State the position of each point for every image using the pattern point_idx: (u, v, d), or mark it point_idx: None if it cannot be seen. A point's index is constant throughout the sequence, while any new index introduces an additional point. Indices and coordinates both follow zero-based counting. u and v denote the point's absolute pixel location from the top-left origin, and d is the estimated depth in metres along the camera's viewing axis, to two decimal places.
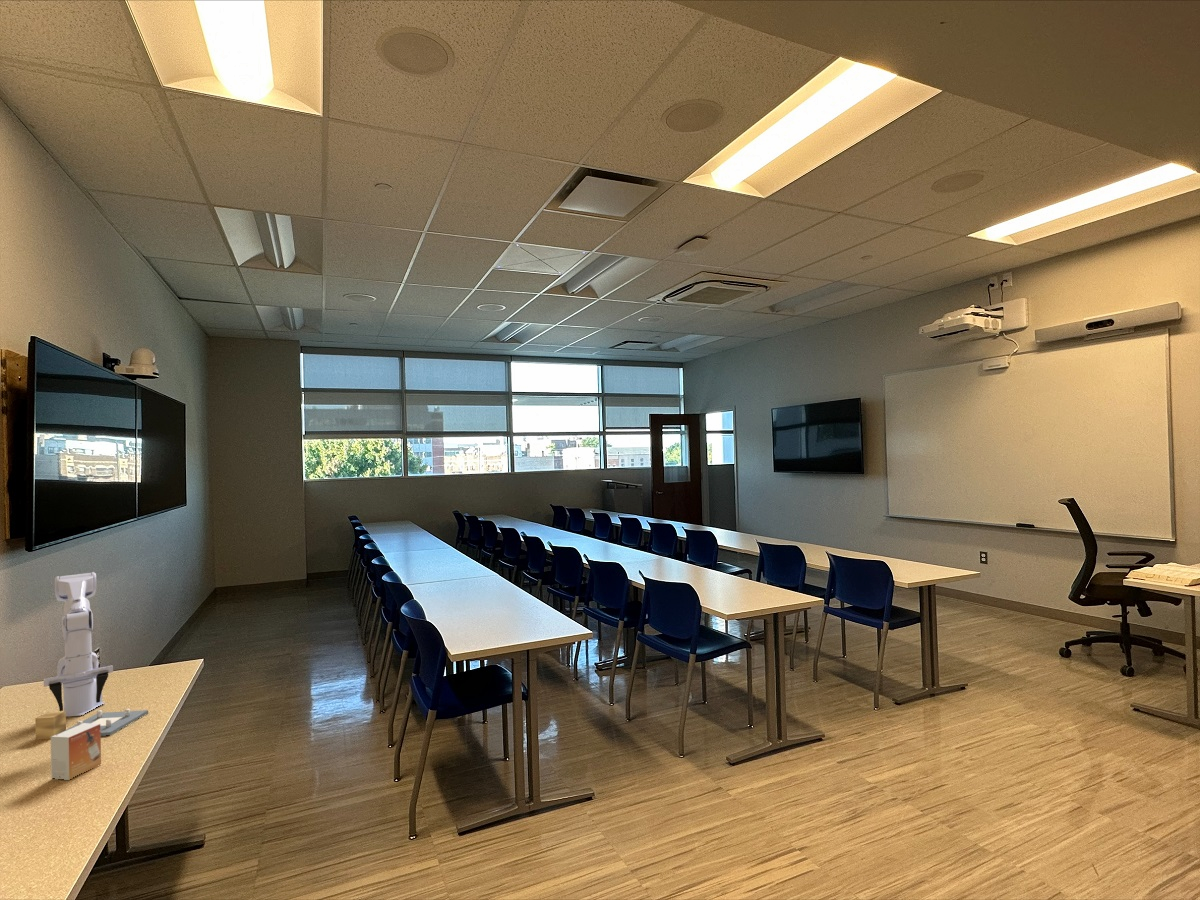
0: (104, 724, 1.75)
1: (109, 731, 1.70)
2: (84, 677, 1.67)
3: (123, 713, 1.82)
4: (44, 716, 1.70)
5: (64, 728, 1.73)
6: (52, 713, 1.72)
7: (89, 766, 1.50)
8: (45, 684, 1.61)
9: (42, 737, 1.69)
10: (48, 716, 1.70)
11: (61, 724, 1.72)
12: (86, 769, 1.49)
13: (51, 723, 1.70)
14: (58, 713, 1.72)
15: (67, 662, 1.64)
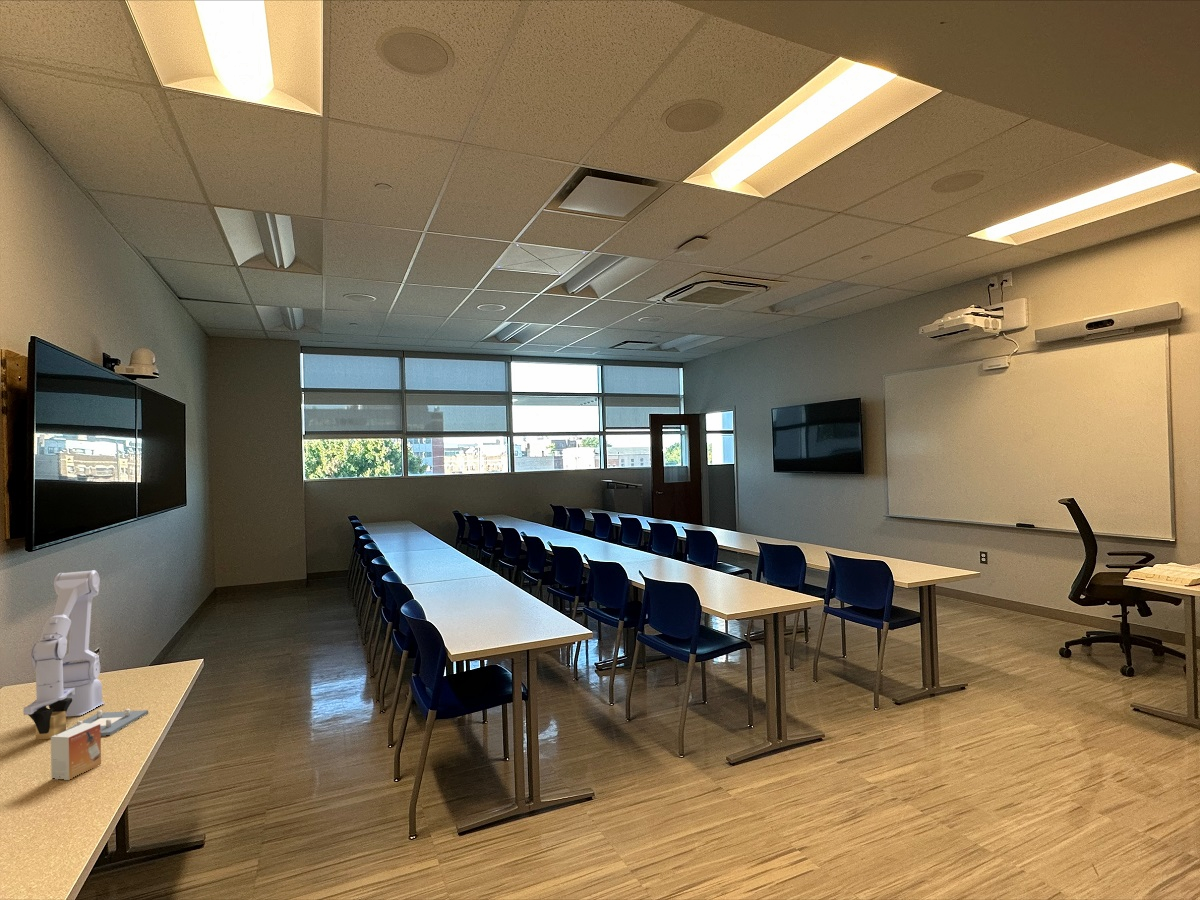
0: (104, 724, 1.75)
1: (109, 731, 1.70)
2: (54, 701, 1.73)
3: (123, 713, 1.82)
4: None
5: (64, 728, 1.73)
6: (52, 713, 1.72)
7: (89, 766, 1.50)
8: (32, 712, 1.65)
9: (42, 737, 1.69)
10: None
11: (61, 724, 1.72)
12: (86, 769, 1.49)
13: (51, 723, 1.70)
14: (58, 713, 1.72)
15: (48, 688, 1.69)
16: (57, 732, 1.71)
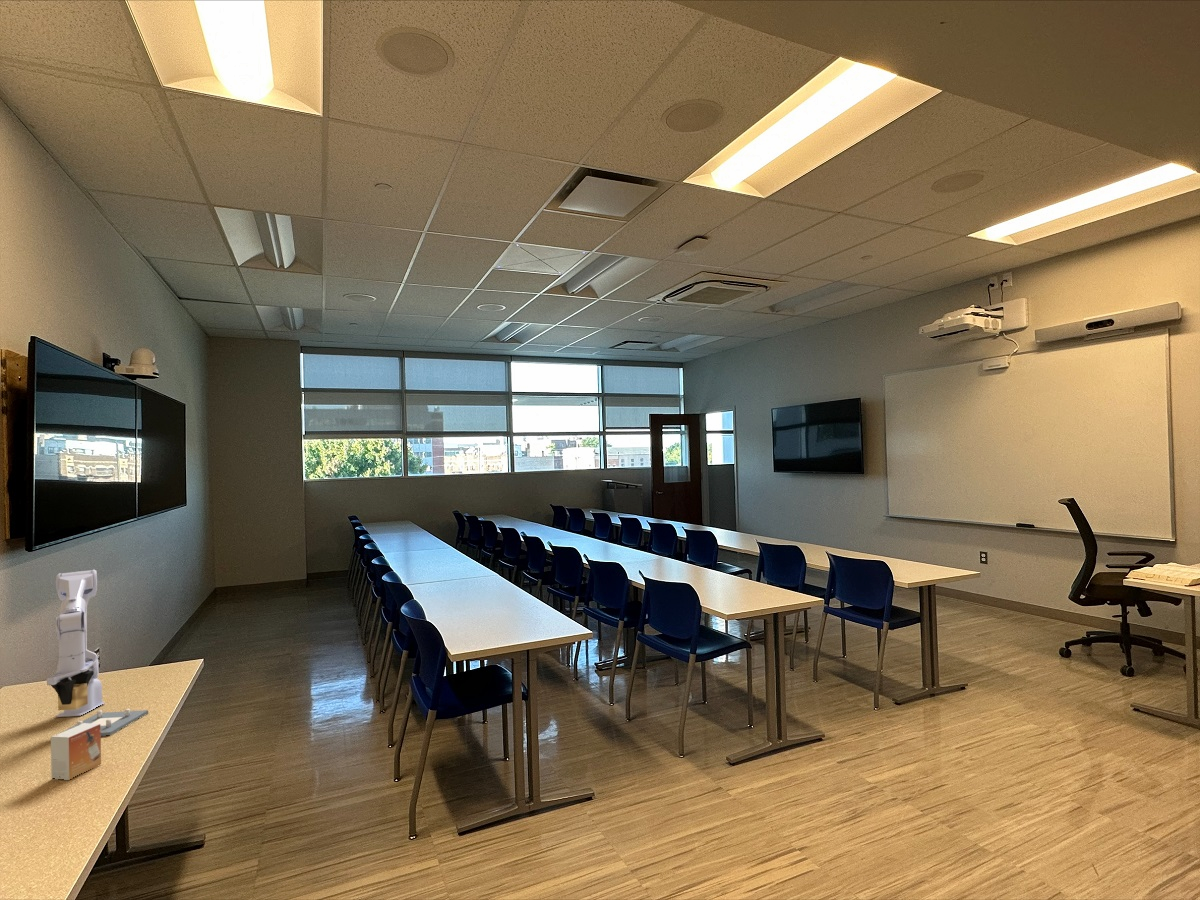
0: (104, 724, 1.75)
1: (109, 731, 1.70)
2: (76, 673, 1.75)
3: (123, 713, 1.82)
4: None
5: (86, 700, 1.75)
6: (74, 685, 1.75)
7: (89, 766, 1.50)
8: (55, 682, 1.67)
9: (64, 708, 1.72)
10: None
11: (83, 695, 1.75)
12: (86, 769, 1.49)
13: (73, 695, 1.72)
14: (80, 685, 1.75)
15: (70, 660, 1.72)
16: (79, 703, 1.73)
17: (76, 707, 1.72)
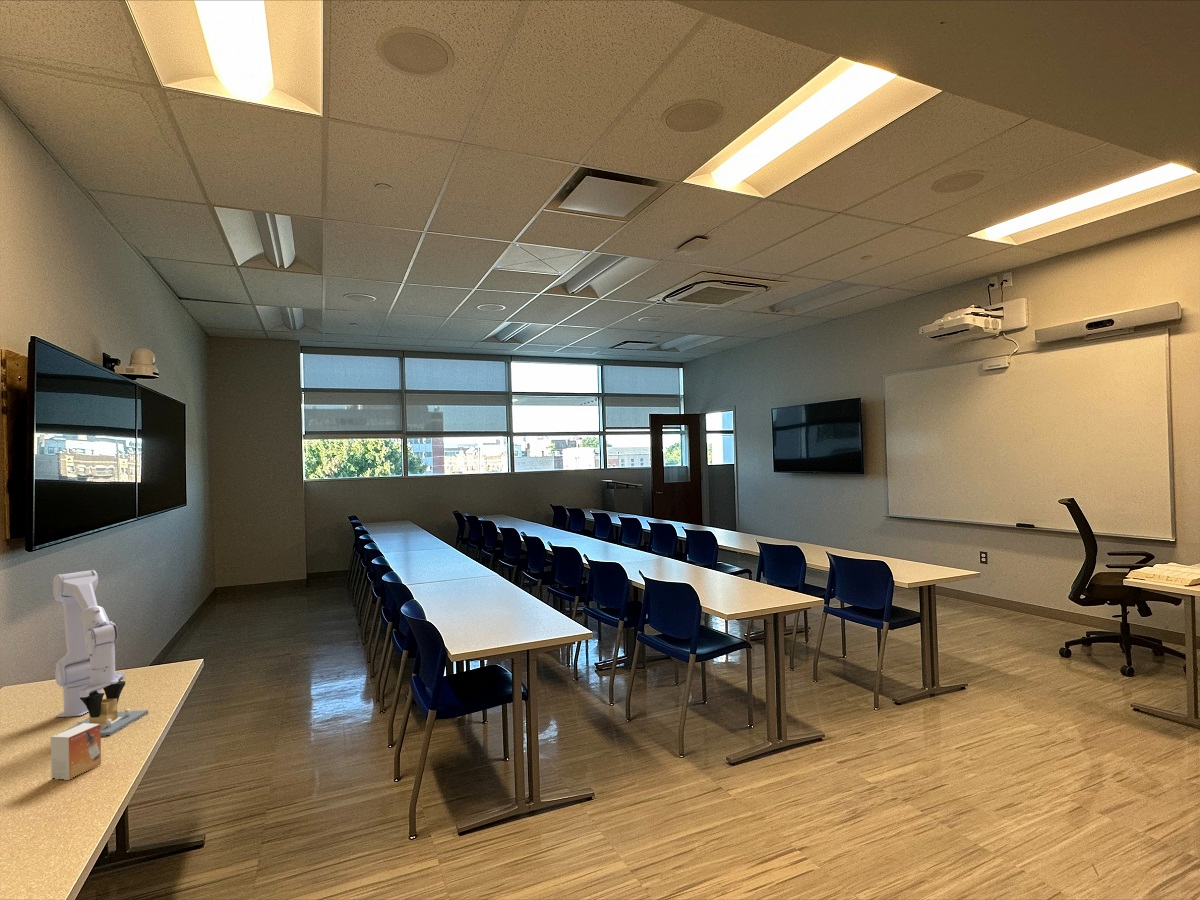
0: None
1: (109, 731, 1.70)
2: (106, 685, 1.78)
3: (123, 713, 1.82)
4: None
5: (116, 714, 1.78)
6: (104, 700, 1.78)
7: (89, 766, 1.50)
8: (87, 694, 1.70)
9: (95, 723, 1.75)
10: (101, 703, 1.76)
11: (113, 710, 1.78)
12: (86, 769, 1.49)
13: (104, 710, 1.75)
14: (110, 700, 1.78)
15: (101, 672, 1.75)
16: (110, 718, 1.76)
17: None
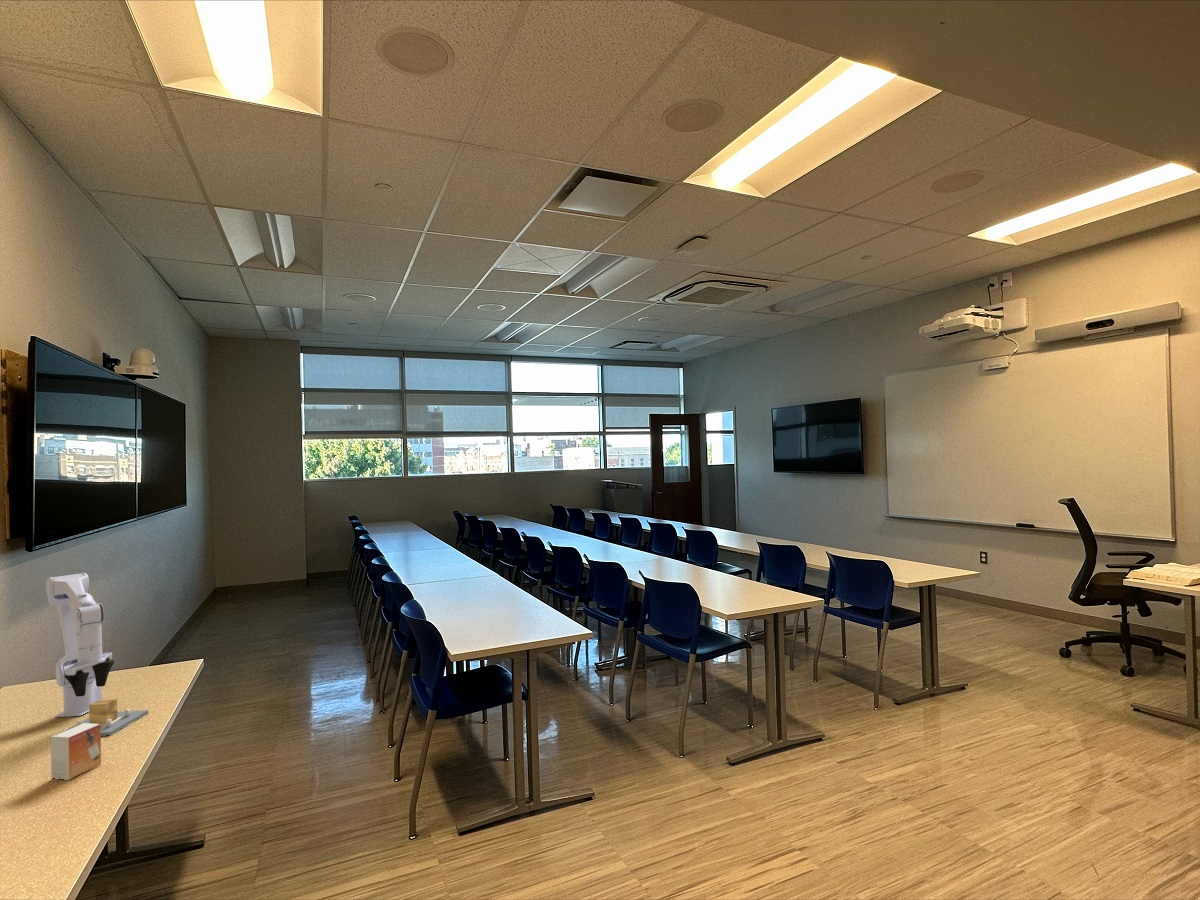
0: None
1: (109, 731, 1.70)
2: (93, 664, 1.81)
3: (123, 713, 1.82)
4: (97, 703, 1.76)
5: (116, 714, 1.78)
6: (104, 700, 1.78)
7: (89, 766, 1.50)
8: (74, 672, 1.73)
9: (95, 723, 1.75)
10: (101, 703, 1.76)
11: (113, 710, 1.78)
12: (86, 769, 1.49)
13: (104, 710, 1.75)
14: (110, 700, 1.78)
15: (88, 651, 1.78)
16: (110, 718, 1.76)
17: None
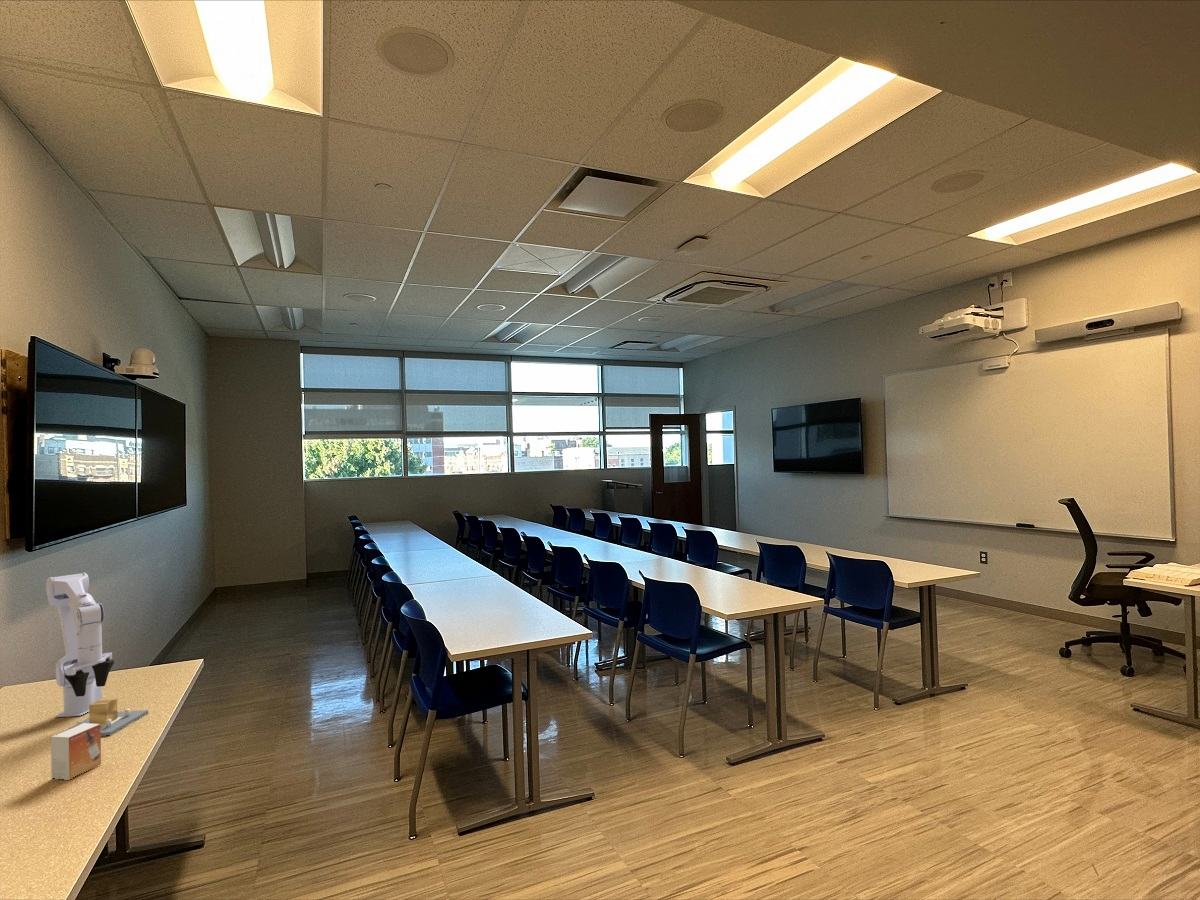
0: None
1: (109, 731, 1.70)
2: (93, 664, 1.81)
3: (123, 713, 1.82)
4: (97, 703, 1.76)
5: (116, 714, 1.78)
6: (104, 700, 1.78)
7: (89, 766, 1.50)
8: (74, 672, 1.73)
9: (95, 723, 1.75)
10: (101, 703, 1.76)
11: (113, 710, 1.78)
12: (86, 769, 1.49)
13: (104, 710, 1.75)
14: (110, 700, 1.78)
15: (88, 651, 1.78)
16: (110, 718, 1.76)
17: None
